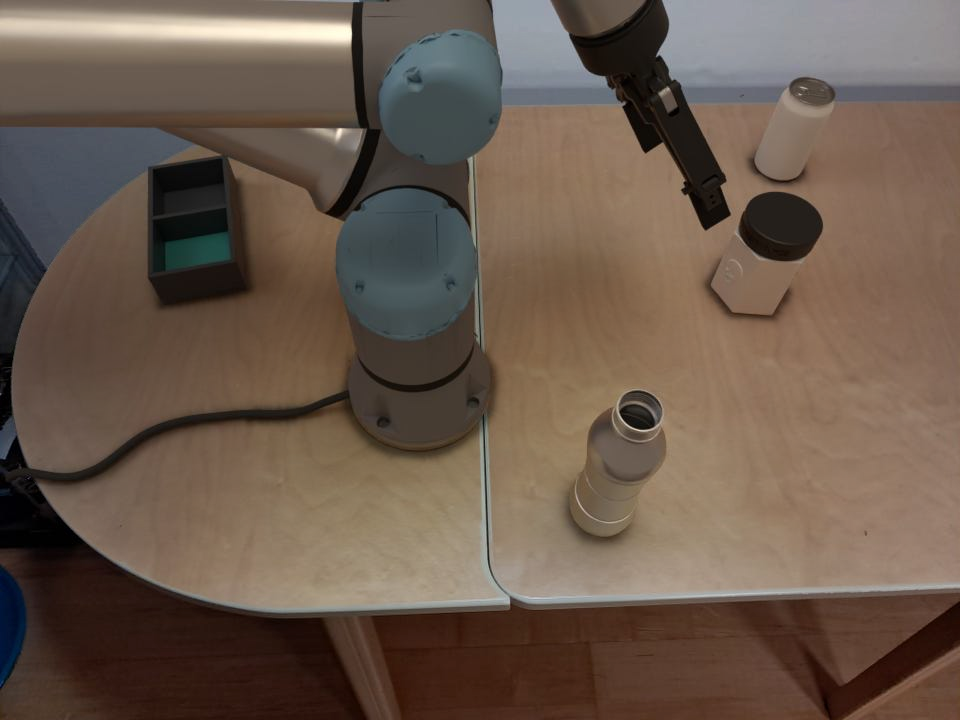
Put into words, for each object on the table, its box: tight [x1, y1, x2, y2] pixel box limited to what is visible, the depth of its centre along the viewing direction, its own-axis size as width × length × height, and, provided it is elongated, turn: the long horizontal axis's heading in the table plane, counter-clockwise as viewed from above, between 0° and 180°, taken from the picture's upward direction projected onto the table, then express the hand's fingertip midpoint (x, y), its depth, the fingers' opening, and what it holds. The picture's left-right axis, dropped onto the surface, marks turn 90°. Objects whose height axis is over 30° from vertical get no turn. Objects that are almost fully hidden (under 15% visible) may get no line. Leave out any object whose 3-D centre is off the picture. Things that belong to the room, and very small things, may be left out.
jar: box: [710, 191, 824, 316], centre depth 79 cm, size 9×8×12 cm
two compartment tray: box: [147, 154, 248, 305], centre depth 86 cm, size 19×10×5 cm, turn 15°
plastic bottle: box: [568, 388, 667, 538], centre depth 60 cm, size 6×7×20 cm
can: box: [754, 76, 837, 182], centre depth 92 cm, size 6×6×12 cm
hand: (683, 180), depth 71 cm, fingers open, 13 cm apart
